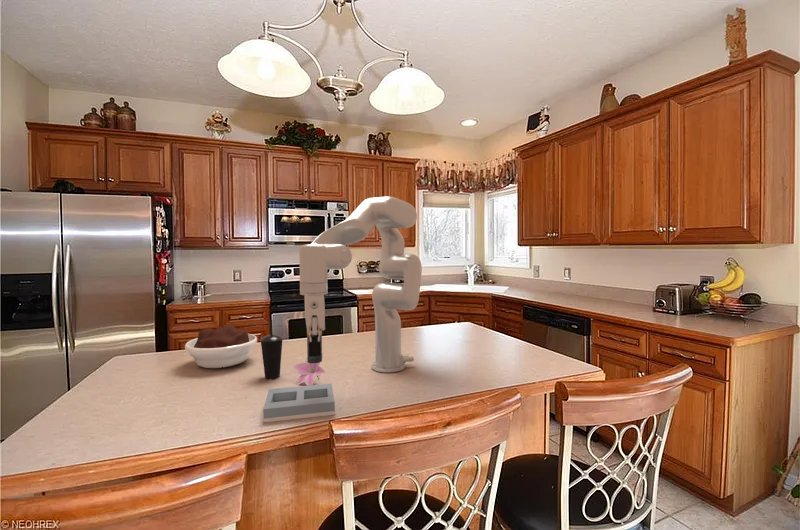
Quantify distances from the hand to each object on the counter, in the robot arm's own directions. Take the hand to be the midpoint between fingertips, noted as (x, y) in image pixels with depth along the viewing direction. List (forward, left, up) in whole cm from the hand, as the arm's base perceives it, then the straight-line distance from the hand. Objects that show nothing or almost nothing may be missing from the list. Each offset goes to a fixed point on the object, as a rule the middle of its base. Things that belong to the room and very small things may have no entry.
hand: (314, 353), depth 105 cm
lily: (+1, -19, -15) cm, 24 cm away
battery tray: (+4, 0, -15) cm, 16 cm away
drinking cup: (+14, -28, -15) cm, 35 cm away
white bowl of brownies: (+34, -48, -15) cm, 61 cm away
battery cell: (0, 0, -2) cm, 2 cm away
